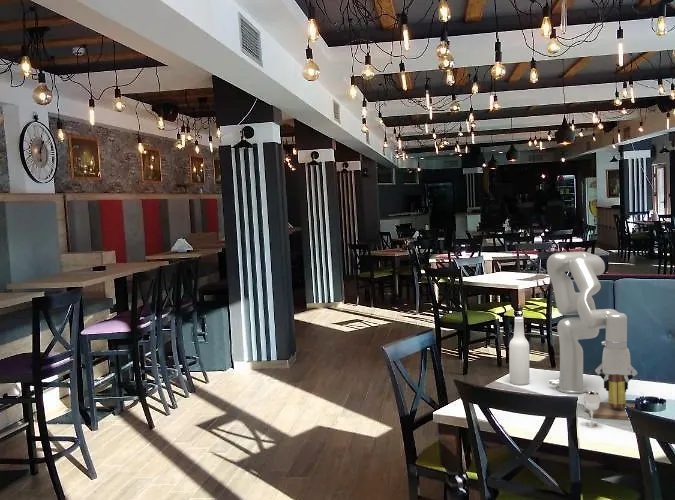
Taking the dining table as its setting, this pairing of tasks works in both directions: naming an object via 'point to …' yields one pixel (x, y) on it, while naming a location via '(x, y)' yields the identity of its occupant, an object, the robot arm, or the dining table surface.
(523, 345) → the alcohol
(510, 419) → the dining table surface
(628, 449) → the dining table surface
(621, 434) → the dining table surface
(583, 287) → the robot arm
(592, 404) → the wineglass
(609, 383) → the sauce bottle
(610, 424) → the dining table surface
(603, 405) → the walnut board
